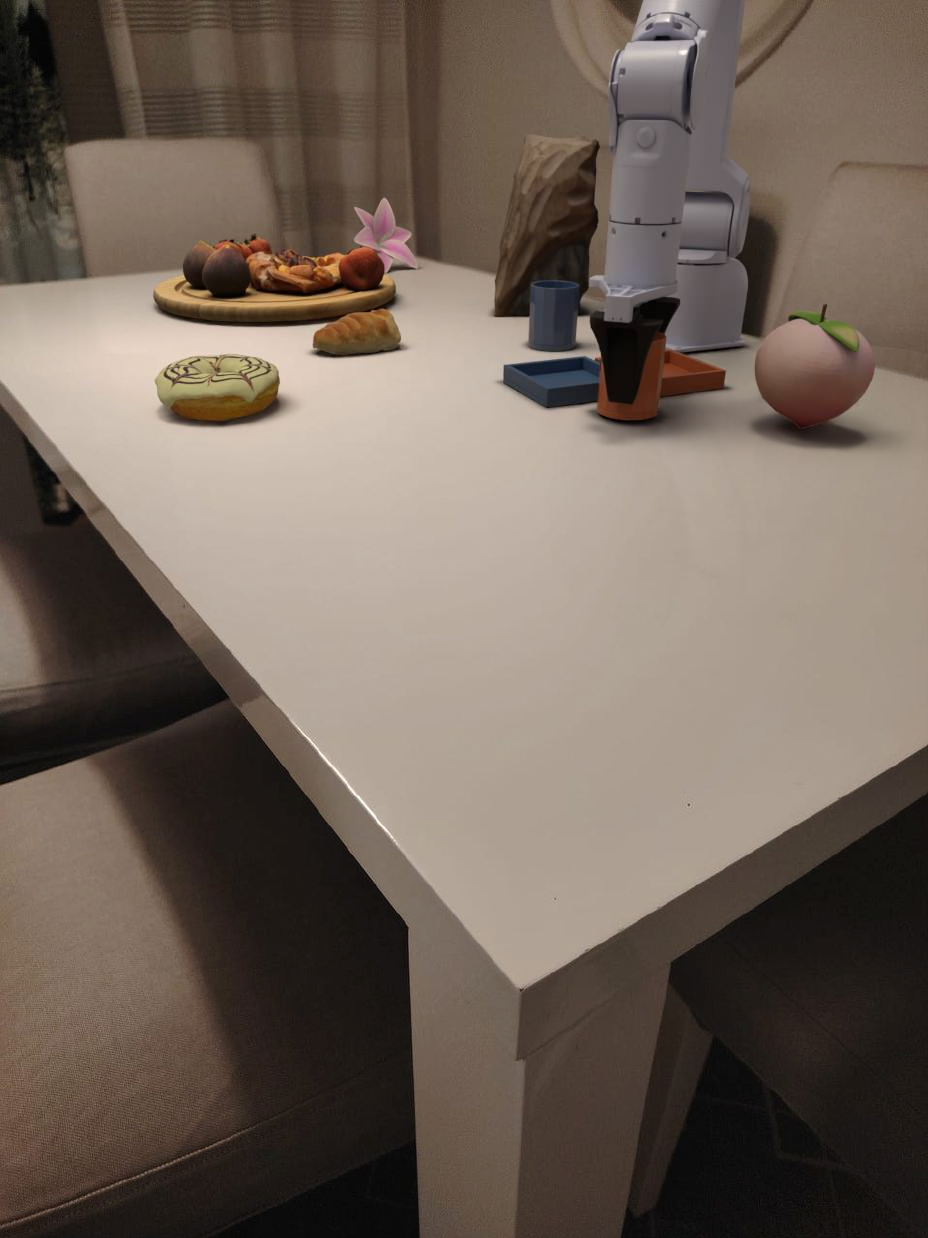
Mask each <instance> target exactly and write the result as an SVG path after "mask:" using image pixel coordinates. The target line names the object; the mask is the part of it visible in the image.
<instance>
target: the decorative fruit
mask: <svg viewBox="0 0 928 1238" xmlns="http://www.w3.org/2000/svg"><path fill="white" fill-rule="evenodd" d="M827 307H828V304H827V303H824V304H823V305H822V308H821V313H820V312H817V311H810V310H808V311H806V310H795V311H793V312H792V313H790V314H789V315H788V318H787V321H788V322H785V323H783V324H781V325H780V326H777V327H776V328H775V329H774V330H771V332H770V333H768V334H767V336H766V337H765V338H764V339H763V341H762V342H761V343H760V345H759V347H758V349H757V352H756V354H755V358H754V377H755V383H756V386H757V389H758V392H759V394H760V396H761V398H762V399H763V400H764V402H766V403H767V405H768V406H769V407H770V408H771V409H773V410H774V411H775V412H777V413H778V414H779V415H781V416H783V417H785V418H786V419H788V420H789V421H791V422H793V423H794V424H795V425H796V426H797V428H798V429H807V428H811V427H814V426H817V425H820V424H823V423H826V422H829V421H831V420H833V419H835V418H838V417H839V416H841V415H843V414H844V413H846V412H847V411H849V410H850V409H851V408H852V407H853V406H855V405H856V404H857V402H859V401H860V399H861V398H863V396H864V395H865V393H866V392H867V390H868V389H869V387H870V385H871V383H872V381H873V378H874V375H875V370H876V360H875V355H874V351H873V348H872V346H871V345H870V343H869V341H868V340H867V338H866V337H865V336H864V335H863V334H862V333H861V332H860V331H858V330H857V329H856V328H854V327H853V326H852V325H850V324H849V323H846V322H843V321H839V320H829V319H827V317H826V316H825V315H826V311H827Z"/></svg>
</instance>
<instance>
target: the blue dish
mask: <svg viewBox="0 0 928 1238" xmlns="http://www.w3.org/2000/svg"><path fill="white" fill-rule="evenodd" d="M599 370H600V363H599V362H597V361H595V359H592V358H590V357H588V356H586V355H581V356H573V357H563V358H554V359H553V358H552V359H544V360H536V361H529V362H528V361H527V362H526V361H525V362H517V363H516V362H515V363H509V364H503V372H502V374H503V376H502V377H503V378H502V382H503V383H504V384H505V385H507V386H509V387H511V388H512V389H514V390H516V391H518V392H519V393H520V394H523V395H524V396H526V397H528V398H529V399H530V400H533V401H535V402H536V403H538V404H540V405H542V406H543V407H545V408H553V407H561V406H569V405H578V404H585V403H591V402H592V403H593V402H597V396H598V383H599Z"/></svg>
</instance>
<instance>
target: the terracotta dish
mask: <svg viewBox="0 0 928 1238" xmlns="http://www.w3.org/2000/svg"><path fill="white" fill-rule="evenodd" d="M600 357H601V356H598V357H594V360H595V361H597V362H599V363H600ZM726 375H727V370H726V369H724V368H721V367H718V366H717V365H713V364H711V363H709V362H705V361H702V360H700V359H698V358H695V357H692V356H690V355H687V354H684V353H683V352H682V353H679V352H677V351H674V350H671V349H670V350H665V356H664V365H663V374H662V383H661V392H660V397H667V396H674V395H675V396H676V395H682V394H689V393H696V392H704V391H712V390H713V391H714V390H720V389H724V388H725V381H726Z"/></svg>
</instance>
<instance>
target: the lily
mask: <svg viewBox="0 0 928 1238" xmlns="http://www.w3.org/2000/svg"><path fill="white" fill-rule="evenodd" d="M353 209H354V211H355V213H356V214H357V216H358V217H359V219H360V221H361V223H362V224H363V225H364V227H363V228H362V229H361V230H360V231H359V232H358V233H357V234H356V235H355V237H354V238H353V242H354V243H356V244H358V245H360V246H362V247H367V248H371V249H374V251H376V253H377V255H378V256H379V257H380V258H381V259H382V261H383V263H384V268H385V271H384V274H386V273H388V271H389V270H390V268H391V266H392V264H393V261H394V258H395V259H397V260H399V261H401V262H403V263H405V264H406V265H408V266H410V267H412V268H414V269H419V264H418V262H417V260H416V258H415V256H414V254H413V253H412V250H411V249H410V248H409V247H408V245H407V244H406V242H407V241H408V240H409V239H410V238H411V237H412V235H413V234H412V232H411V231H409V229H406V228H403V227H400V226H397V225H396V218H395V214H394V212H393V209H392V207H391V204H390V202H389V201H388V199H387V198H386V197H383V198H382V199H381V200H380V202H379V203H378V206H377V208H376V211H375V213H374V215H372V214H371V213H370V212H367V211H366V210H364V209H362V208H360V207H357V206H354V207H353Z"/></svg>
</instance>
